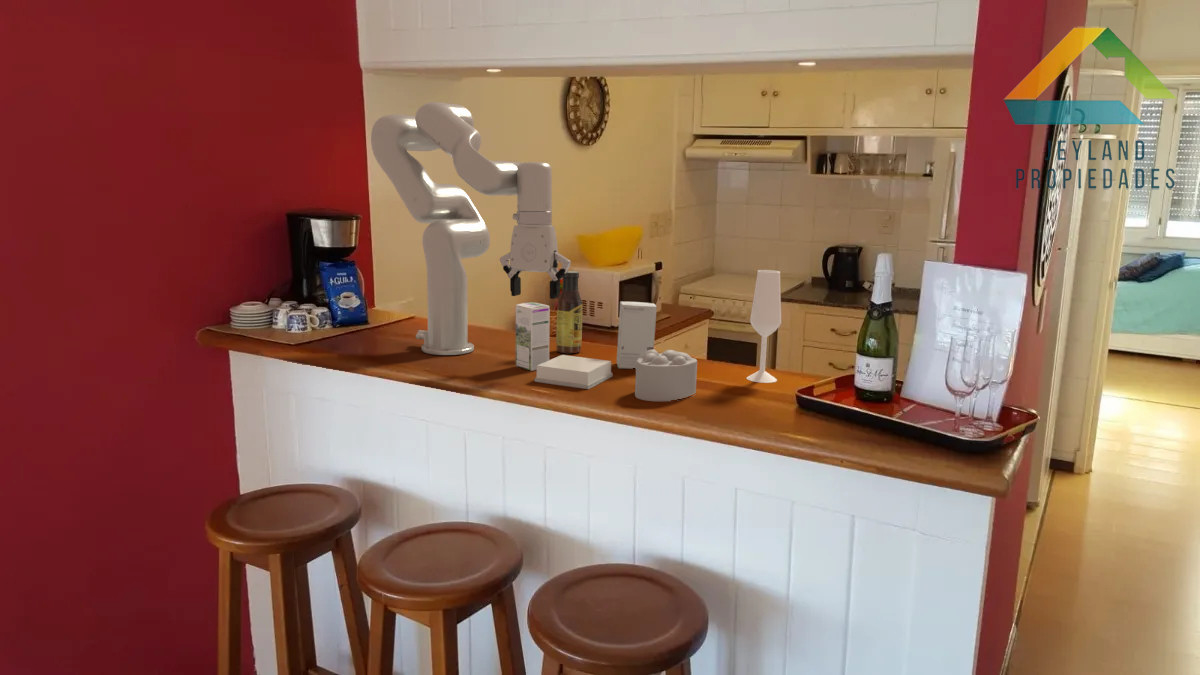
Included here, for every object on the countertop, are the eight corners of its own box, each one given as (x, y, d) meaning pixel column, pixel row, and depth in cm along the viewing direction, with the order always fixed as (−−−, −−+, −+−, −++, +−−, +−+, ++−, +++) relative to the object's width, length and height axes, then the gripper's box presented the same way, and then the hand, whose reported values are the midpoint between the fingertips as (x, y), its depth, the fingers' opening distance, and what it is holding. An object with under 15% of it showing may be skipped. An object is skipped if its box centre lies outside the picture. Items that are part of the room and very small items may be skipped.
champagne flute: (781, 382, 189) (789, 273, 184) (752, 383, 188) (759, 273, 183) (770, 375, 196) (778, 269, 191) (742, 375, 194) (748, 269, 190)
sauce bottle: (578, 355, 210) (580, 274, 206) (553, 353, 211) (554, 272, 207) (584, 349, 216) (586, 270, 212) (559, 348, 217) (561, 269, 213)
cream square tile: (534, 381, 184) (534, 365, 183) (561, 369, 195) (561, 354, 194) (588, 389, 179) (588, 372, 178) (612, 376, 190) (612, 360, 190)
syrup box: (550, 367, 197) (551, 304, 194) (530, 371, 193) (531, 307, 190) (534, 363, 201) (534, 301, 198) (514, 366, 197) (514, 303, 194)
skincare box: (617, 369, 197) (619, 304, 194) (616, 362, 203) (618, 300, 200) (654, 369, 198) (657, 305, 195) (651, 363, 204) (654, 301, 201)
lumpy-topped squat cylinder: (702, 394, 178) (704, 353, 176) (660, 405, 169) (662, 362, 167) (664, 384, 185) (666, 344, 183) (622, 394, 176) (623, 352, 174)
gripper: (491, 219, 190) (492, 296, 193) (562, 221, 183) (562, 301, 186) (508, 217, 197) (509, 292, 200) (577, 219, 190) (577, 297, 193)
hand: (535, 296), depth 193 cm, fingers open, 9 cm apart
